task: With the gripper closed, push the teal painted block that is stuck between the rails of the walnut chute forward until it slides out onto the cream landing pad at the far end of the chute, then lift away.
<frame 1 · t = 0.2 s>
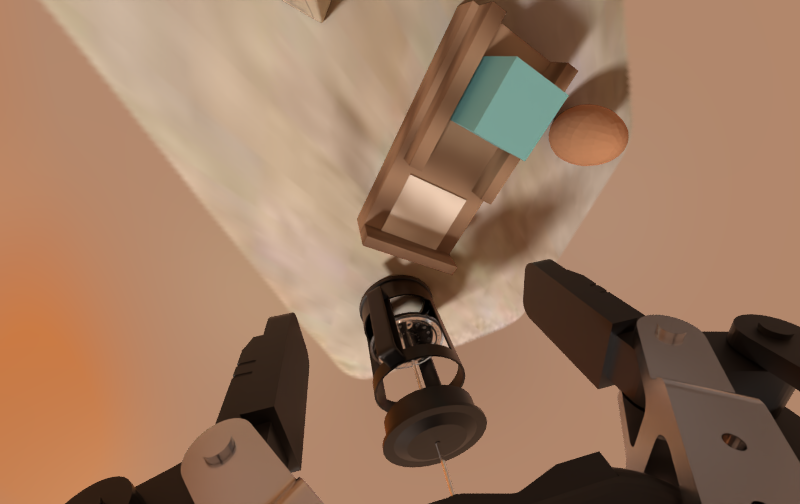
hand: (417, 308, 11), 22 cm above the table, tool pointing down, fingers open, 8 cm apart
block: (504, 108, 24), point 6 cm above the table, slide at 0.0 cm
french press: (393, 301, 40), on the table
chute: (444, 150, 31), on the table
egg: (557, 127, 32), on the table
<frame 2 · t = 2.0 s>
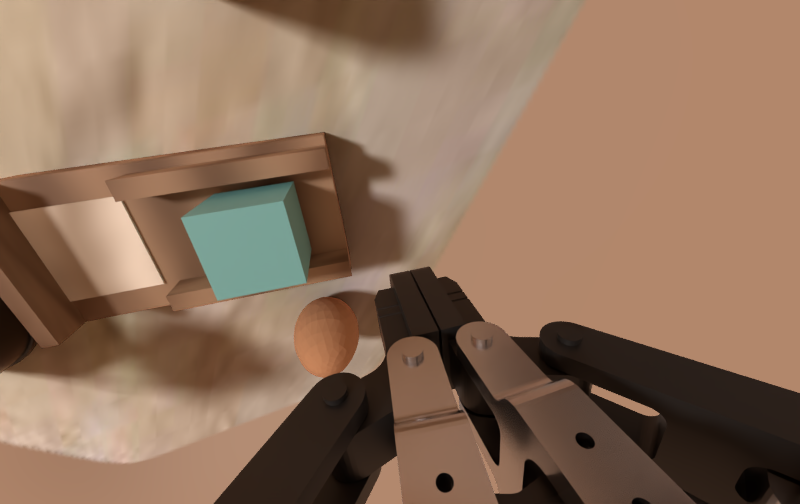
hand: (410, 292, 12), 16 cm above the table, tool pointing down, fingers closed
block: (258, 236, 19), point 6 cm above the table, slide at 0.0 cm
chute: (207, 219, 24), on the table
egg: (327, 306, 29), on the table
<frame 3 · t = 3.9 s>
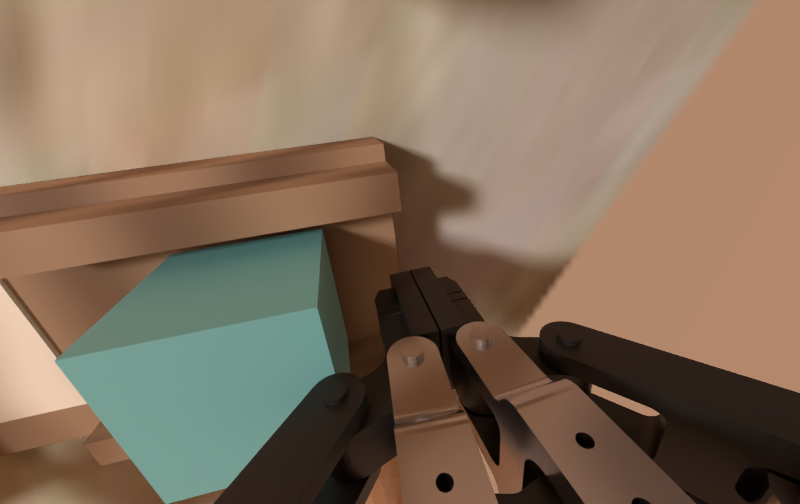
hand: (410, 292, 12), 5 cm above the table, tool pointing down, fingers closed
block: (256, 345, 10), point 6 cm above the table, slide at 0.1 cm, touching gripper
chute: (173, 281, 14), on the table
egg: (360, 393, 20), on the table
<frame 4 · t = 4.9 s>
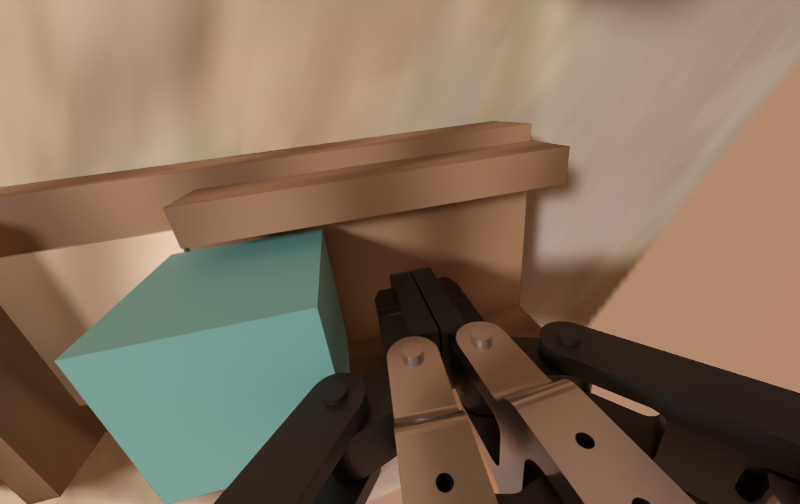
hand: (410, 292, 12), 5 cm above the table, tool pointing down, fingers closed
block: (256, 345, 10), point 6 cm above the table, slide at 5.7 cm, touching gripper
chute: (297, 258, 15), on the table
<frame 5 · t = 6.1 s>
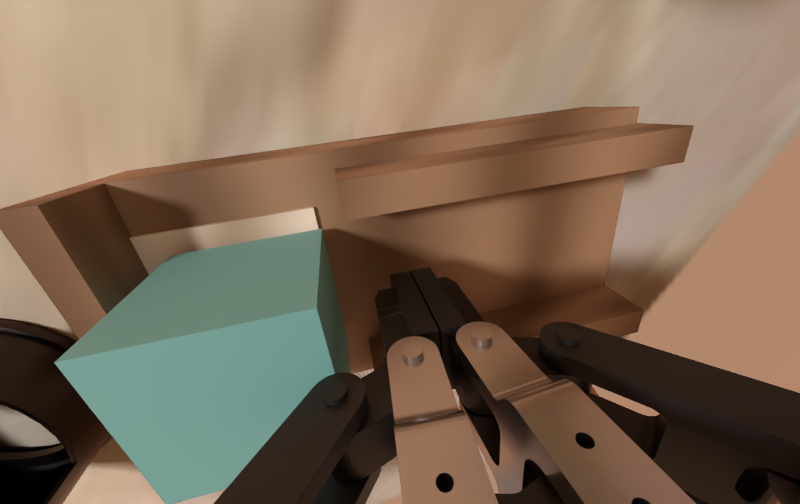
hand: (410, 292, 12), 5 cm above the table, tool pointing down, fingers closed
block: (256, 345, 10), point 6 cm above the table, slide at 10.3 cm, touching gripper
french press: (15, 386, 15), on the table
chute: (391, 241, 16), on the table
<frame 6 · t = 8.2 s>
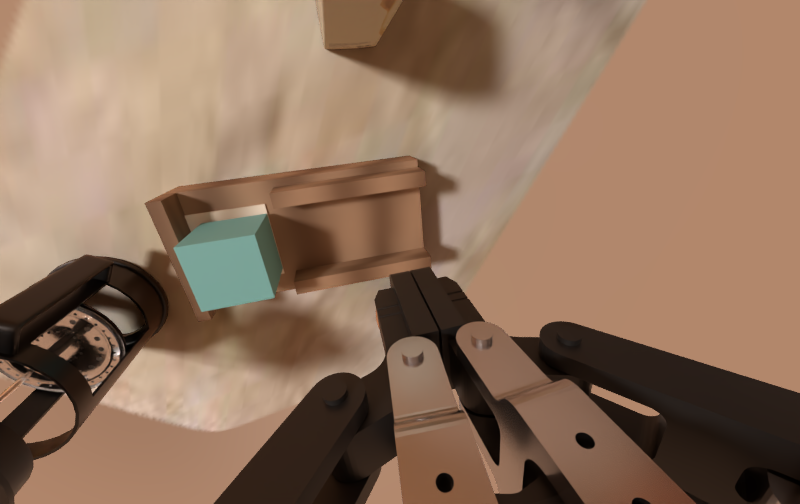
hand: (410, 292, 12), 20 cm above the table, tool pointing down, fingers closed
block: (236, 259, 24), point 6 cm above the table, slide at 10.4 cm
french press: (112, 296, 29), on the table
skincare box: (344, 0, 24), on the table
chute: (312, 223, 30), on the table
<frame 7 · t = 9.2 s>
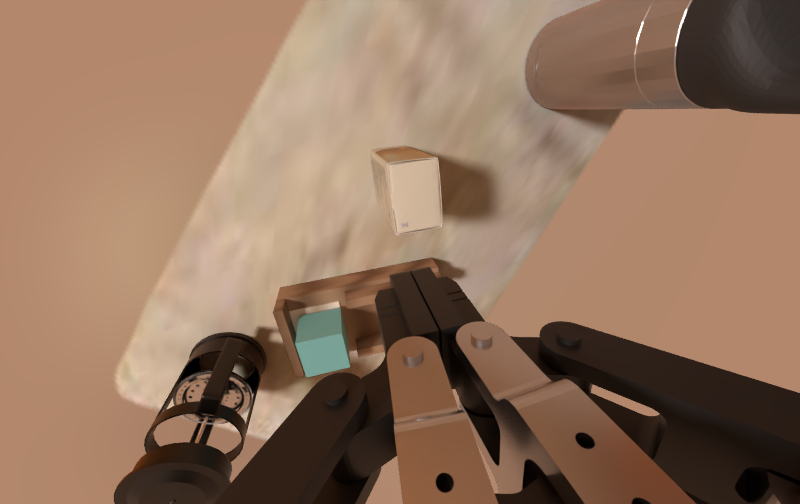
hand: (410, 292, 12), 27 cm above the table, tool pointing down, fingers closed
block: (324, 341, 37), point 6 cm above the table, slide at 10.4 cm
french press: (230, 356, 43), on the table
skincare box: (391, 172, 37), on the table
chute: (364, 303, 43), on the table
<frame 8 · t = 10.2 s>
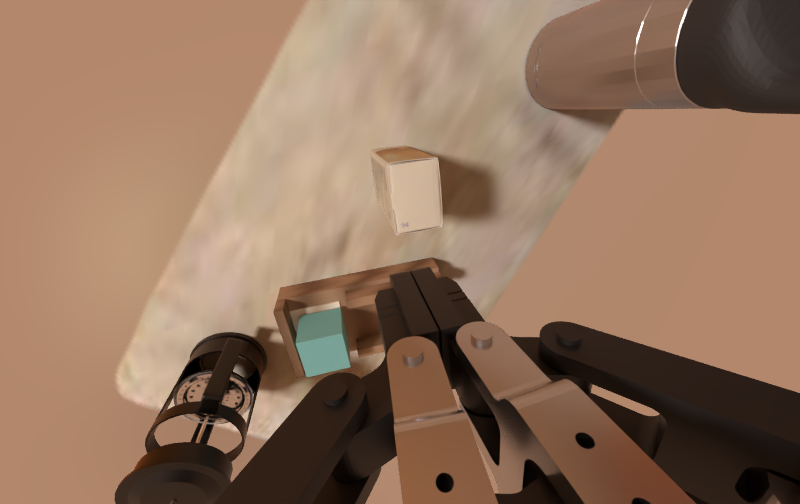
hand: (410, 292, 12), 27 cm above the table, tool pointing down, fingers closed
block: (324, 341, 37), point 6 cm above the table, slide at 10.4 cm
french press: (231, 356, 43), on the table
skincare box: (391, 172, 37), on the table
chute: (364, 303, 43), on the table
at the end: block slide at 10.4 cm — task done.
